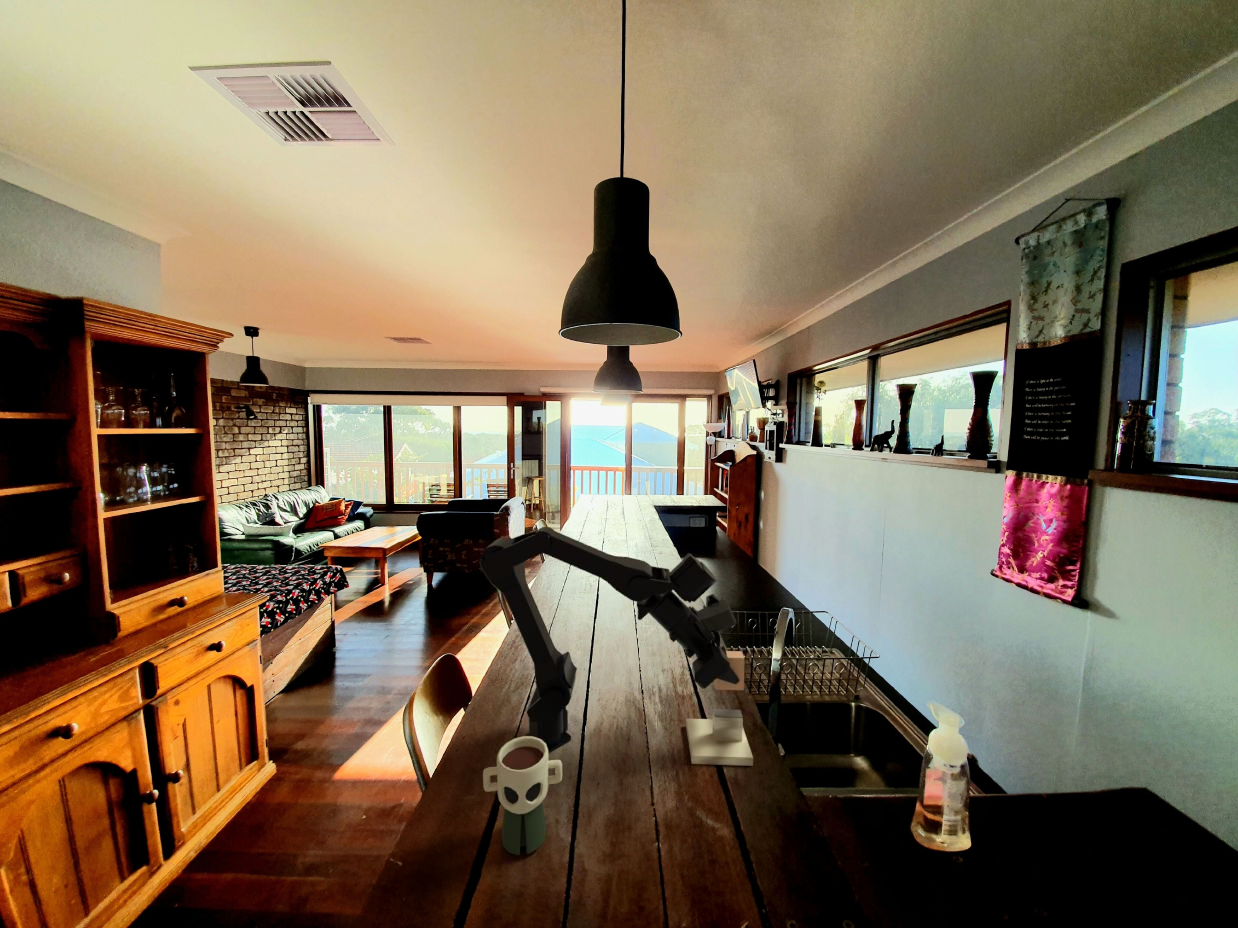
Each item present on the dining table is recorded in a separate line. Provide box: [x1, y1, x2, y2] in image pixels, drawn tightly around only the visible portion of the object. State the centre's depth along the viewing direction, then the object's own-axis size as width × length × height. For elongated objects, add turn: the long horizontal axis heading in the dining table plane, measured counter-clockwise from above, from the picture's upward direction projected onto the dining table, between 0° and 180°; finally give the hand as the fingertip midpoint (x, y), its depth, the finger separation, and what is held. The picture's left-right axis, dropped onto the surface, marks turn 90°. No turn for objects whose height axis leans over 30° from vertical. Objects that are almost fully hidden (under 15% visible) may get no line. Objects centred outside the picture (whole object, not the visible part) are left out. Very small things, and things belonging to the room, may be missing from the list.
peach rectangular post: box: [712, 650, 745, 691], centre depth 83 cm, size 5×2×6 cm, turn 87°
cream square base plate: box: [685, 708, 754, 767], centre depth 84 cm, size 10×10×6 cm
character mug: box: [482, 735, 563, 856], centre depth 65 cm, size 11×7×13 cm, turn 99°
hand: (736, 677), depth 83 cm, fingers closed on peach rectangular post, 2 cm apart
